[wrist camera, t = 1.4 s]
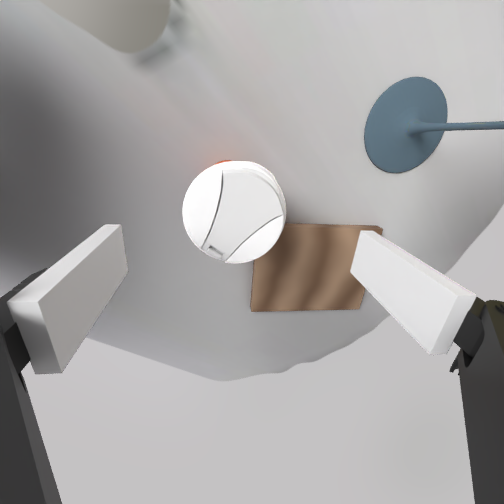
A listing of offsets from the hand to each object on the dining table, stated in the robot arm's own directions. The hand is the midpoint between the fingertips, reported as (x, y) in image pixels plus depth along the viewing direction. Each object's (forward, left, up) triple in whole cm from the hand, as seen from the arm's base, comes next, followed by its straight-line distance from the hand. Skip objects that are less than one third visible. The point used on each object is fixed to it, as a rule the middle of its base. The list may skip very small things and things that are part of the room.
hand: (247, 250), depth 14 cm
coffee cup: (0, 0, -21) cm, 21 cm away
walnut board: (+13, -12, -20) cm, 27 cm away
